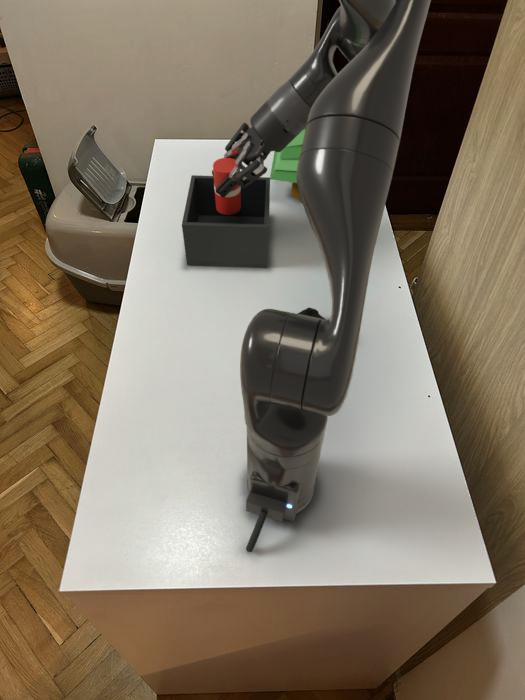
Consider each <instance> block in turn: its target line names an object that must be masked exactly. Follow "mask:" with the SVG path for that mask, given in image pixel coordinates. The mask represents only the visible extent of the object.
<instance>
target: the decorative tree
mask: <svg viewBox="0 0 525 700" xmlns="http://www.w3.org/2000/svg"><path fill="white" fill-rule="evenodd" d="M305 130H306V127H305V128H304V129H303V130H302V131H301V132H300V133H299V134H298V135H297V136H296V137H295V138H294V139H293V140H292V141H291V142H290V143H289V144H288V145H287V146H286V147H285V148H284V149H283V150H282V151H281V152H276V151H273V158H272V164H271V170H270V175H269V178H270V181H271V180H272V181H279V182H286V183H291V197H292V198H294V199H296V200H298V201H300V202H302V200H301V197H300V194H299V190H298V185H297V167H298V162H299V158H300V153H301V148H302V144H303V139H304V134H305Z"/></svg>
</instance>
